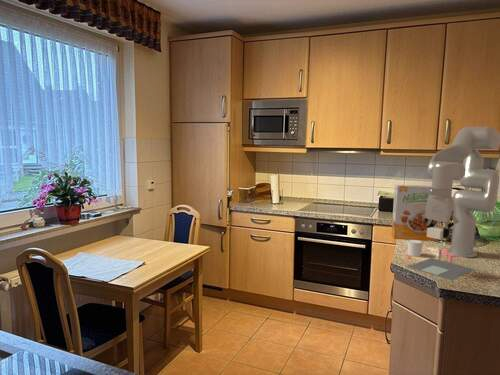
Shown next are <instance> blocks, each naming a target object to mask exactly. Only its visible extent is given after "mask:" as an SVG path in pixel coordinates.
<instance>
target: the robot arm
mask: <svg viewBox="0 0 500 375" xmlns="http://www.w3.org/2000/svg"><path fill="white" fill-rule="evenodd" d="M499 147H500V131H498V130H497V129H495V128H493V127H490V126H464V127H463V128H461V129H459V131H458V132H457V134H456V136H455V137H454V139H453V141H452V143H451V145H449V146H447V147H445V148H443V149H440V150H439V151H437V152H436V153H434V155H433V156H432V158H431V159H430V161H429V162H428V165H427V170H426V173H427V175H428V177H429V178H431V180H432V181H431V186H432V188H431V189H429V190H428V191H429V192H431V195H429V197H428V200H427V205H426V211H425V212H424V213H423V214H422V215H421V216H422V218H423V219H424V220H425V221H426V223H427V225H428V228H430V227H434V225H433V222H434V220H436V221H438V222H442V223H443V224H444V227H445V228H444V229H443V230H444V231H443V239H447V238H449V237H450V234H449V231H450V232H451V228H452V232H451V241H450V242H451V243H450V248H447V249H446V252H447V253H448V254H450V255H452V256H456V257H461V258H476V257H477V254H478V253H477V252H475V251H474V248H476V245H475V244H474V243H475V236H476V224H477V221H476V217H475V215H474V213H473V212H472V211H474V212H481V213H491V212H493V211H494V210H495V207H496V203H497V197H498V191H499V184H500V175H499V174H500V173H499V172H498V171H497V170H495V169H490V168H483V167H484V161H485V160H484V159H485V158H484V157H483V155H482V154H481V152H480V151H479V150H495V149H497V148H499ZM461 160H463V161H462V163H461V162H458V161H461ZM453 181H459V182H460V185H461V186H462V187H464V188H468V189H459V190H457V191H455V192H454V193H453V184H454V182H453ZM469 188H470V189H469ZM472 189H473V190H472ZM474 189H478V190H474ZM479 189H480V190H479ZM482 190H484V191H482ZM452 193H453V194H452ZM451 221H452V222H451ZM448 236H449V237H448Z"/></svg>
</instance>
